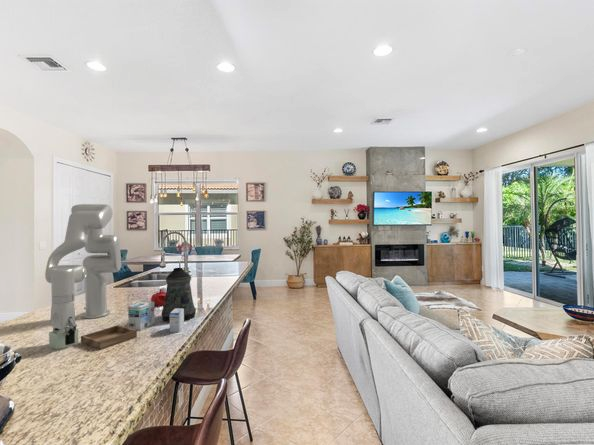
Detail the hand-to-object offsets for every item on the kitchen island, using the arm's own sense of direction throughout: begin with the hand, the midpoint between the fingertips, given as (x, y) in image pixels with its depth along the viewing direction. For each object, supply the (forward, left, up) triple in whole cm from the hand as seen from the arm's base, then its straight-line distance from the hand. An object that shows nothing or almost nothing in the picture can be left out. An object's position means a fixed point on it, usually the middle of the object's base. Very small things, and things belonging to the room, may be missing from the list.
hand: (64, 341), depth 135 cm
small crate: (0, 0, -1) cm, 1 cm away
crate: (+11, +12, -1) cm, 16 cm away
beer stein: (+10, +48, -2) cm, 49 cm away
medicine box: (+25, +35, -2) cm, 43 cm away
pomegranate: (-18, +60, -2) cm, 63 cm away
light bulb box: (+7, +30, -2) cm, 31 cm away
